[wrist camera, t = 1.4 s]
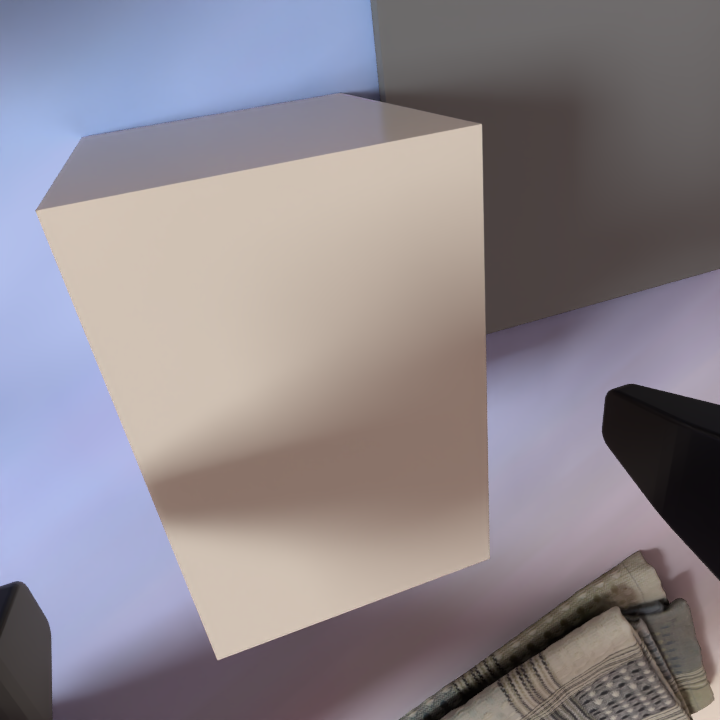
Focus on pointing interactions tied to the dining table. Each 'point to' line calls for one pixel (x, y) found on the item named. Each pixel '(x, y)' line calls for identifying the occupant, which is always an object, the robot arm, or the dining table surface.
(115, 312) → the upright cream box
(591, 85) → the slate mat
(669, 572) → the dining table surface
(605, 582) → the dish towel
